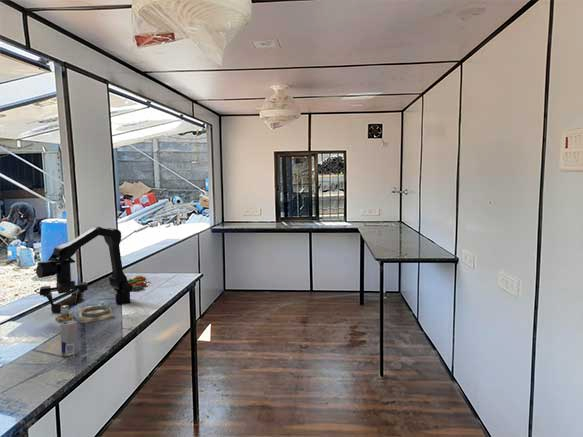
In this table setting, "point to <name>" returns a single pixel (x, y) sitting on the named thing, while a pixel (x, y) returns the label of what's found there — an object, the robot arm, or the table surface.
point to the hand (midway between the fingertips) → (65, 306)
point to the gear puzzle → (138, 283)
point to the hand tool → (65, 302)
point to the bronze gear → (65, 314)
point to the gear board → (95, 313)
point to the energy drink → (69, 337)
